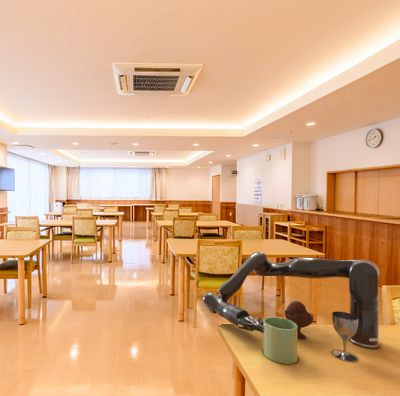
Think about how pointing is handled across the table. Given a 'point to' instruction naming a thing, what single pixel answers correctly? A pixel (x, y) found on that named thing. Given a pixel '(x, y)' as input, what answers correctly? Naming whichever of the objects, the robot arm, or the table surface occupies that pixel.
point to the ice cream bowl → (298, 316)
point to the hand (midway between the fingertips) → (266, 331)
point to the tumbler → (280, 340)
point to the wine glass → (345, 332)
